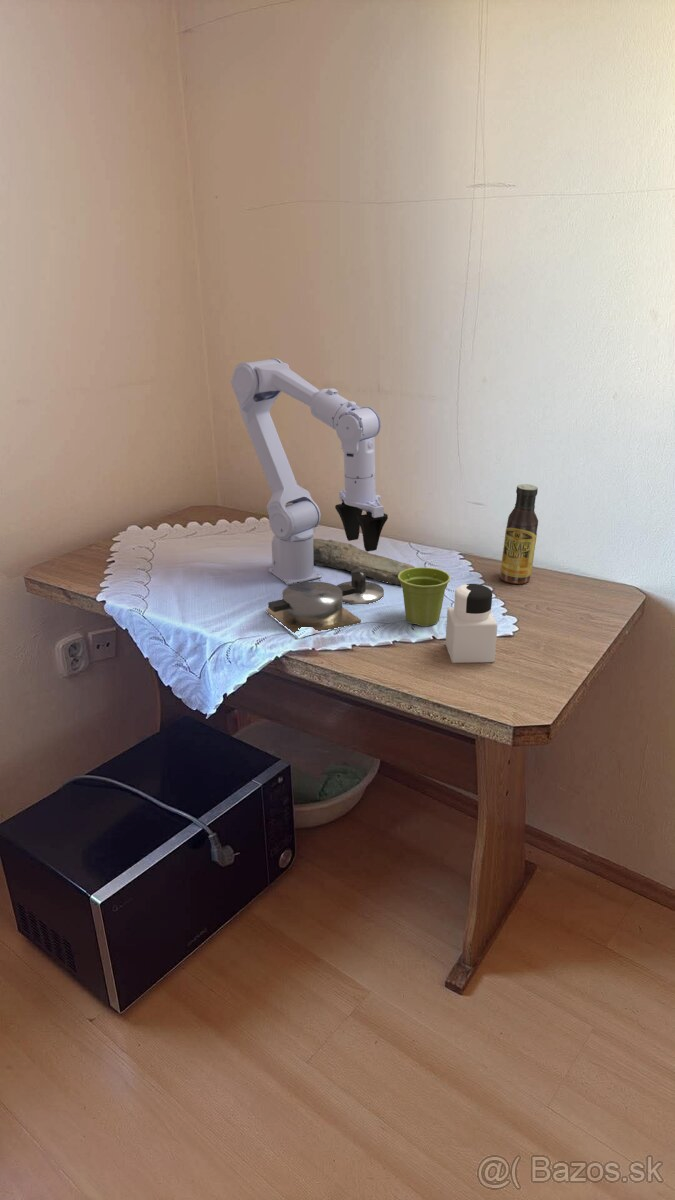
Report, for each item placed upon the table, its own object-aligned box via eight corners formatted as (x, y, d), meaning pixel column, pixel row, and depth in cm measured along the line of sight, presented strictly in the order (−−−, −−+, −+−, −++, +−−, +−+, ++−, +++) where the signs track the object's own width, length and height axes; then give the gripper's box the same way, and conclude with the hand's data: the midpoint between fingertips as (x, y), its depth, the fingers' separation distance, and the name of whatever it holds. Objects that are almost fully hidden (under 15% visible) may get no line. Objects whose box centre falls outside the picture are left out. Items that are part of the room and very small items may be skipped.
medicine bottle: (486, 643, 139) (491, 579, 134) (494, 663, 132) (500, 596, 128) (445, 644, 139) (448, 580, 134) (451, 663, 132) (455, 597, 127)
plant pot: (388, 613, 150) (389, 570, 147) (433, 606, 153) (435, 564, 150) (410, 634, 142) (411, 589, 139) (457, 626, 145) (459, 581, 142)
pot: (256, 614, 150) (255, 589, 148) (334, 596, 158) (334, 572, 156) (288, 641, 140) (287, 615, 138) (369, 620, 147) (370, 595, 145)
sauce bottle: (496, 582, 164) (503, 487, 156) (505, 572, 169) (513, 480, 161) (527, 587, 162) (537, 492, 154) (535, 577, 167) (545, 484, 159)
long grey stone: (405, 600, 160) (431, 587, 168) (408, 575, 158) (435, 563, 165) (275, 554, 179) (304, 544, 187) (276, 531, 177) (305, 522, 184)
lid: (324, 592, 161) (323, 568, 158) (366, 582, 165) (366, 559, 163) (349, 610, 153) (349, 585, 150) (393, 599, 157) (394, 574, 155)
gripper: (398, 479, 144) (398, 551, 149) (361, 465, 156) (363, 531, 161) (363, 485, 141) (364, 558, 146) (328, 469, 153) (331, 537, 159)
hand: (361, 544), depth 154 cm, fingers open, 7 cm apart
